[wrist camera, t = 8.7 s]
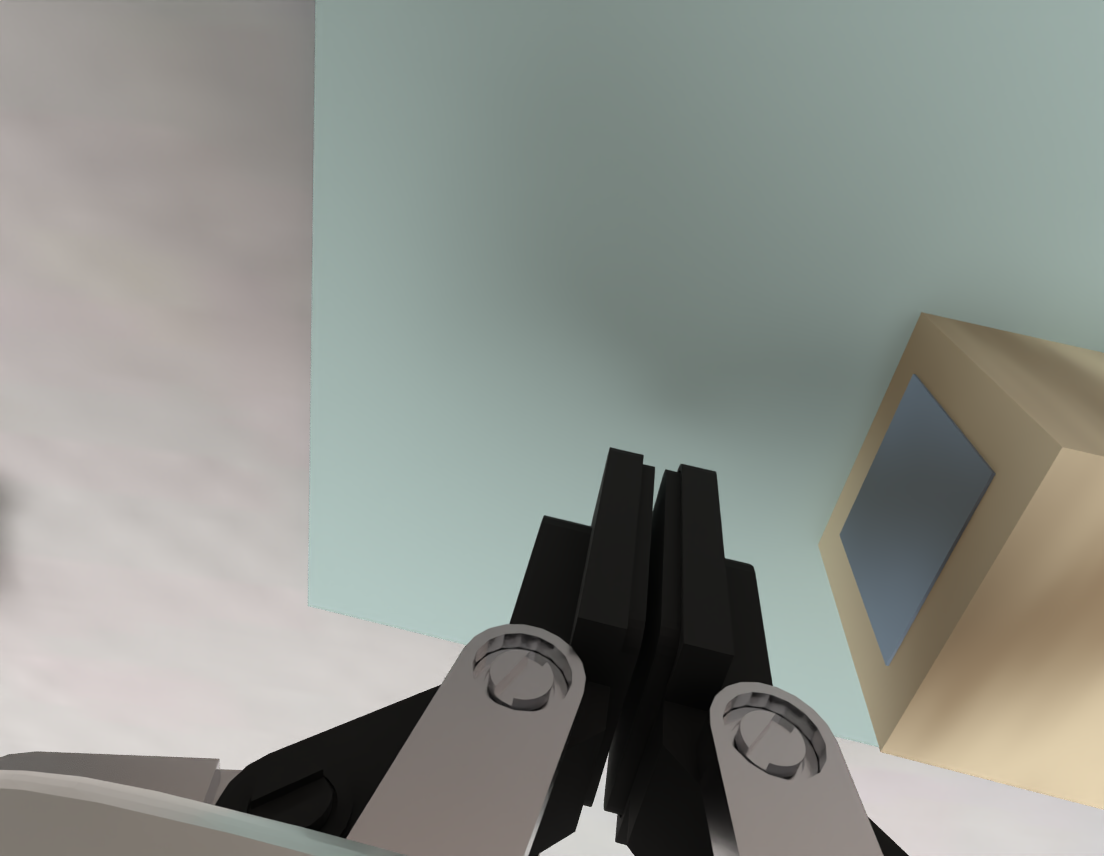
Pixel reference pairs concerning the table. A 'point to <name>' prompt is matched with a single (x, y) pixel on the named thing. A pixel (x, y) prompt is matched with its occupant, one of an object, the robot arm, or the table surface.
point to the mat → (666, 271)
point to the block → (981, 559)
